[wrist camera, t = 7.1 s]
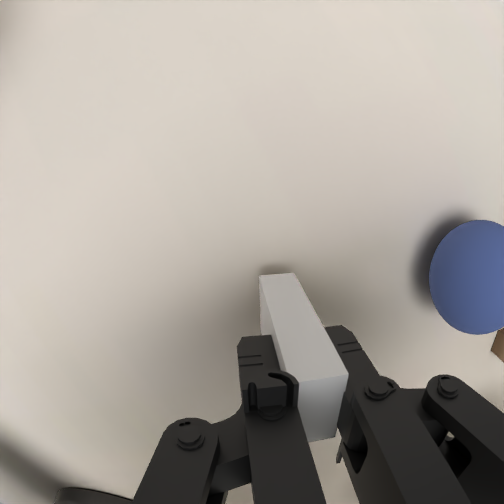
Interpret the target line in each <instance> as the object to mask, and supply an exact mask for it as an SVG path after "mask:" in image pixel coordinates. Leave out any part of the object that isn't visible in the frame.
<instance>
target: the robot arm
mask: <svg viewBox="0 0 504 504" xmlns="http://www.w3.org/2000/svg"><path fill="white" fill-rule="evenodd" d="M259 294H260V327H261V334H262V335H260V336H249V337H242V338H241V340H240V342H239V344H238V345H237V353H238V365H239V377H240V387H241V397H242V404H241V407H240V409H239V410H238V411H237V412H236V414H234V415H233V416H232V417H230V418H228V419H226V420H224V421H221V422H218V423H214V424H210V423H209V422H207V421H205V420H202V419H199V418H185V419H181V420H177V421H175V422H174V423H172V424H171V425H169V426H168V427H167V429H166V430H165V431H164V433H163V435H162V437H161V439H160V441H159V444H158V446H157V448H156V450H155V452H154V455H153V457H152V459H151V461H150V463H149V466H148V468H147V470H146V472H145V474H144V477H143V479H142V481H141V483H140V486H139V488H138V490H137V492H136V494H135V497H134V499H133V501H130V500H127V499H123V498H120V497H116V496H113V495H109V494H105V493H101V492H96V491H91V490H85V489H76V488H66V489H61V490H59V491H58V493H57V496H56V499H55V503H54V504H225V502H226V498H227V494H228V491H229V490H231V489H234V488H237V487H240V486H243V485H245V484H248V483H251V485H252V493H253V501H254V504H326V501H325V497H324V494H323V491H322V487H321V484H320V481H319V477H318V474H317V470H316V467H315V464H314V460H313V457H312V454H311V450H310V447H309V444H308V442H312V441H318V440H323V439H328V438H333V437H335V435H336V431H337V427H338V429H339V431H340V434H341V437H342V439H341V443H340V446H339V450H338V453H337V456H336V463H340V461H341V458H342V456H343V459H344V462H345V465H346V467H347V470H348V473H349V475H350V478H351V481H352V484H353V486H354V489H355V492H356V495H357V497H358V500H359V503H360V504H504V413H502V412H501V411H500V410H499V409H497V408H496V407H495V406H494V405H492V404H491V403H490V402H489V401H487V400H486V399H485V398H483V397H482V396H481V395H480V394H478V393H477V392H476V391H475V390H473V389H472V388H471V387H469V386H468V385H467V384H466V383H464V382H463V381H462V380H460V379H458V378H456V377H455V376H451V375H438V376H435V377H433V378H432V379H431V380H430V381H429V382H428V384H427V387H426V388H424V389H404V388H400V387H399V385H398V384H397V383H396V382H395V381H394V380H391V379H389V378H387V377H384V376H380V375H379V374H378V372H377V370H376V369H375V367H374V366H373V364H372V363H371V361H370V359H369V358H368V356H367V355H366V353H365V352H364V350H362V347H361V345H360V344H359V343H358V341H357V339H356V338H355V336H354V335H353V333H352V332H351V331H349V330H348V329H346V328H345V327H343V326H342V325H339V326H332V327H323V325H322V323H321V321H320V319H319V317H318V315H317V314H316V312H315V310H314V308H313V306H312V304H311V303H310V301H309V299H308V297H307V295H306V293H305V292H304V290H303V288H302V286H301V284H300V283H299V281H298V279H297V277H296V275H295V274H294V273H283V274H271V275H259ZM448 432H450V433H451V434H452V435H453V436H454V437H453V438H452V437H449V436H448V435H447V434H448Z"/></svg>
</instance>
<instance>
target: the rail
mask: <svg viewBox="0 0 504 504" xmlns="http://www.w3.org/2000/svg"><path fill="white" fill-rule="evenodd" d="M491 351H492V352H493V353H494V354H495V355H496V356H497V357H498V358H499V359H500V360H501V361H503V362H504V329H501V330H499V331H498V333H497V336H496V338H495V341H494V344H493V346H492V349H491Z"/></svg>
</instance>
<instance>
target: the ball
mask: <svg viewBox="0 0 504 504" xmlns="http://www.w3.org/2000/svg"><path fill="white" fill-rule="evenodd" d="M429 286H430V293H431V296H432V300H433V302H434V305H435V307H436V309H437V310H438V312H439V314H440V315H441V316H442V318H443V319H444V320H445V321H446V322H447V323H448V324H449V325H451V326H452V327H454V328H455V329H457V330H459V331H461V332H464V333H468V334H475V335H479V334H487V333H491V332H494V331H496V330H498V329H500V328H502V327H503V326H504V226H502V225H500V224H498V223H495V222H492V221H487V220H474V221H469V222H466V223H463V224H461V225H459V226H457V227H456V228H454V229H453V230H451V231H450V232H449V233H448V234H447V235H446V236H445V237H444V238H443V240H442V241H441V242H440V244H439V245H438V247H437V249H436V251H435V253H434V256H433V258H432V261H431V266H430V272H429Z"/></svg>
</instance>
